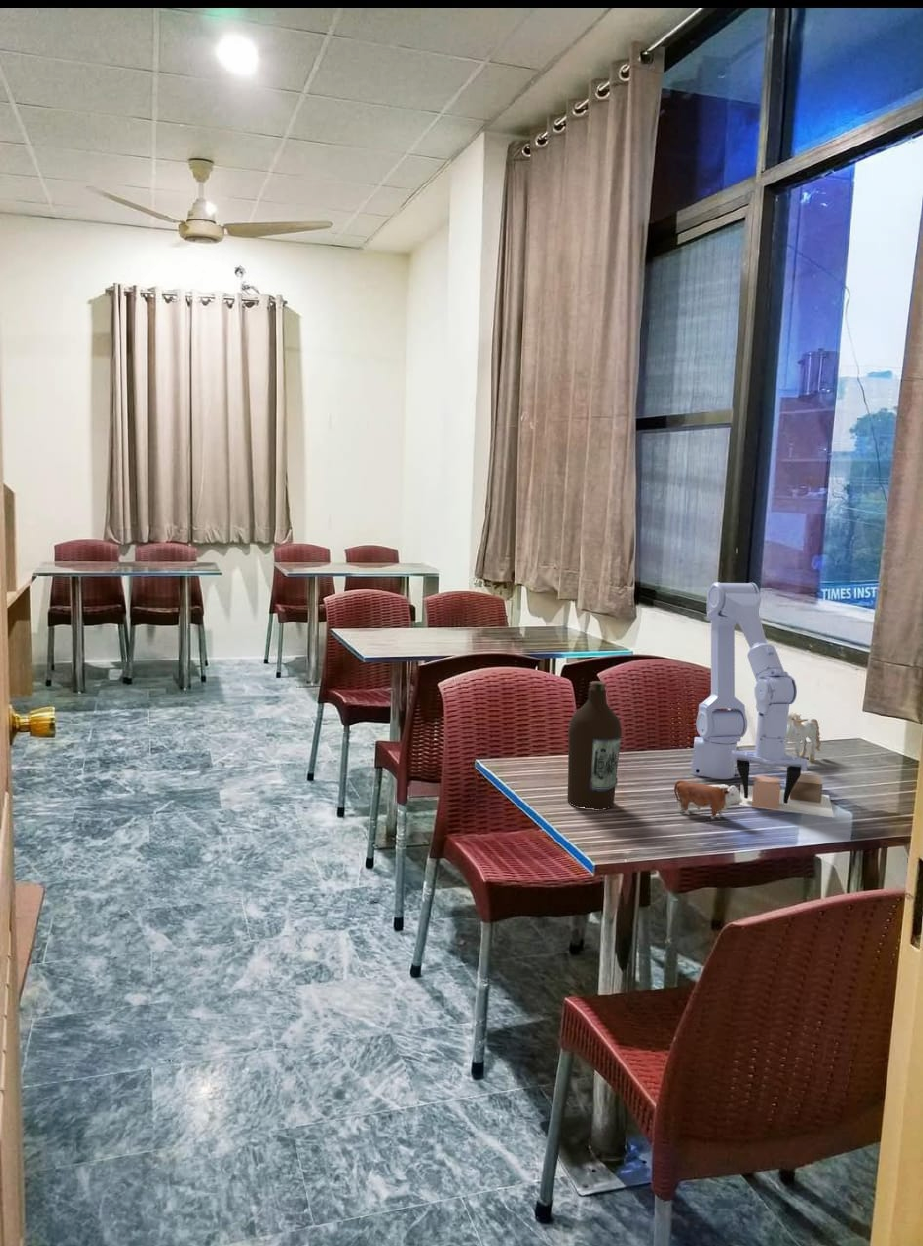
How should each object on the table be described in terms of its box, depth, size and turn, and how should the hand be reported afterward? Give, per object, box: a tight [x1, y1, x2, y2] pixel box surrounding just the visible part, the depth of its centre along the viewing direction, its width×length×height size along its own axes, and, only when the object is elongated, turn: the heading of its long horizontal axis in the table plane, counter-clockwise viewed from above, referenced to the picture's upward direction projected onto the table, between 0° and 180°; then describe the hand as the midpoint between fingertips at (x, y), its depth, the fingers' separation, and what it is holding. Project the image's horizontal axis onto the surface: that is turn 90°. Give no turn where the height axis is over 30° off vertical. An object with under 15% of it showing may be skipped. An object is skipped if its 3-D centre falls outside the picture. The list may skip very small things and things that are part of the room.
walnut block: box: [790, 773, 824, 803], centre depth 201 cm, size 6×6×4 cm
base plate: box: [738, 784, 835, 818], centre depth 198 cm, size 18×14×1 cm
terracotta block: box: [752, 774, 781, 810], centre depth 195 cm, size 5×5×5 cm
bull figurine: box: [673, 780, 742, 820], centre depth 187 cm, size 4×13×8 cm, turn 58°
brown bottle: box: [567, 680, 623, 809], centre depth 193 cm, size 11×11×25 cm
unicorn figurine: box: [785, 711, 822, 763], centre depth 228 cm, size 7×20×13 cm, turn 149°
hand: (765, 799), depth 195 cm, fingers open, 7 cm apart
